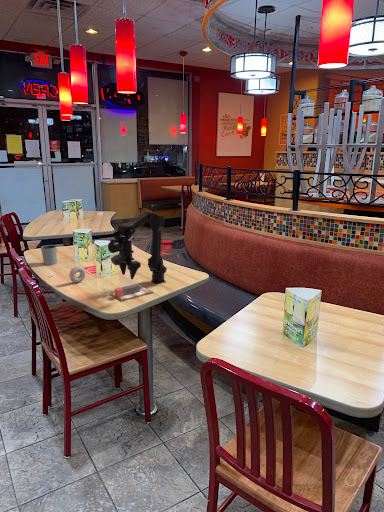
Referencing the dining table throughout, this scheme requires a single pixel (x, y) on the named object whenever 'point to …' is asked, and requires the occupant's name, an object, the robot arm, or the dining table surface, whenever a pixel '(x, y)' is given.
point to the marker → (127, 290)
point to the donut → (81, 276)
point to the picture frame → (142, 292)
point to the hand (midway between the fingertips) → (127, 277)
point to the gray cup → (49, 254)
